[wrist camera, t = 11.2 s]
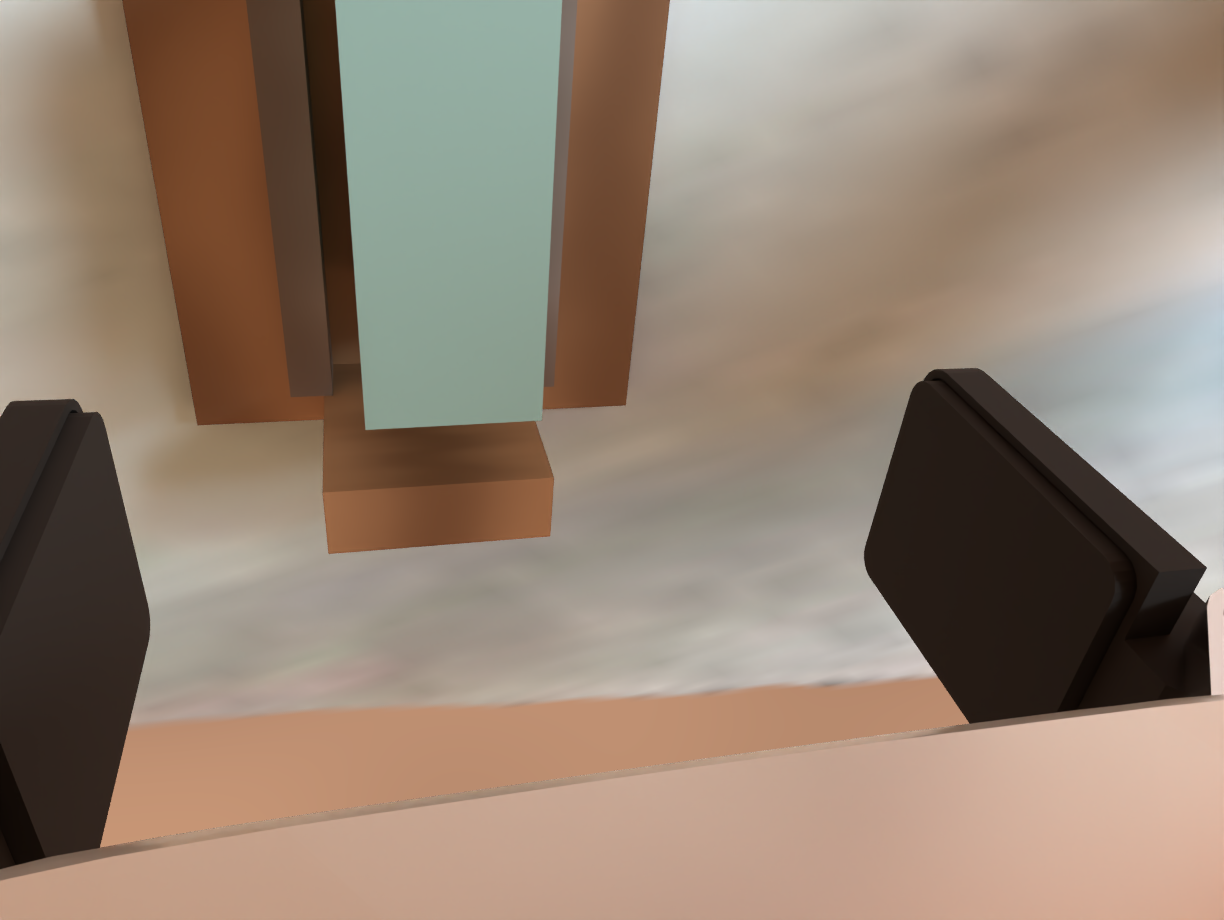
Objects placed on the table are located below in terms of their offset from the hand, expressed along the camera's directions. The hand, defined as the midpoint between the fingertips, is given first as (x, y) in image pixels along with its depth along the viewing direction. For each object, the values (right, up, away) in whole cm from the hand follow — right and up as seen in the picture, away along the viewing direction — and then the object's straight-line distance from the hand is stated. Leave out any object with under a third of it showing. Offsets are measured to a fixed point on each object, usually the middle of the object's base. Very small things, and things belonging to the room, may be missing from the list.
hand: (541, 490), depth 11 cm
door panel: (-4, +10, +15) cm, 19 cm away
